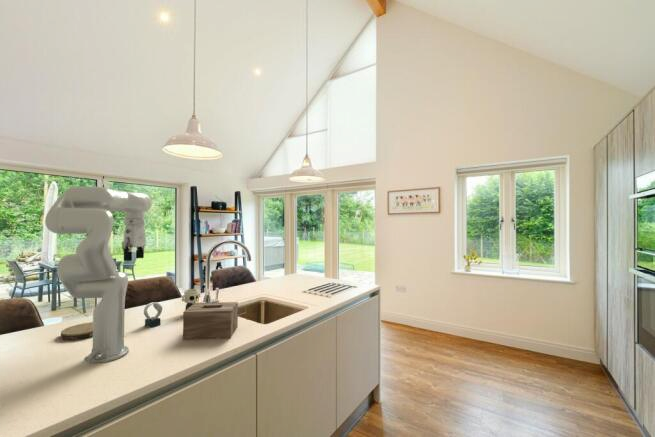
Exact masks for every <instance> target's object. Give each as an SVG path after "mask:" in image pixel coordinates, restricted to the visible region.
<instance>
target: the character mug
mask: <svg viewBox="0 0 655 437" xmlns="http://www.w3.org/2000/svg"><path fill="white" fill-rule="evenodd" d="M200 298H201V291H199V289H198V288H190V289H186V290H184V294H183V295H182V296H181V301H182V302H184V303H185V309H184V311H185V310H186V309H188V308H189V307H190V306H192V305H193V304H194V303H198V301H199V299H200Z"/></svg>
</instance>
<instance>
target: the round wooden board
mask: <svg viewBox="0 0 655 437" xmlns="http://www.w3.org/2000/svg"><path fill="white" fill-rule="evenodd" d="M91 338H92V339H93V321H91V322H83V323H80V324H75V325H72V326H68V327H66V328H63V329H62V330H61V331H60V339H61V341H64V342H65V341H67V342H74V341H82V340H87V339H91Z"/></svg>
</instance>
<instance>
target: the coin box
mask: <svg viewBox="0 0 655 437" xmlns="http://www.w3.org/2000/svg"><path fill="white" fill-rule="evenodd" d="M238 306H239V302H238V301H226V302H225V301H224V302H221V301H220V302H216V301H215V302H196V303H194V304H193V305H192V306H190V307H189V308H188V309H186V310H185V309H184V311H183V314H182V319H183V320H182V333H183V334H182V340H185V341H187V340H189V341H190V340H213V339H216V338H221V339H231V338H232V337H233V335H234V334H233V333H235V332H236V330H237V328H238V326H239V325H238V323H239V322H238V321H239V320H238V319H239V318H238V317H239V314H238V312H239V307H238Z"/></svg>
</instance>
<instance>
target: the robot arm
mask: <svg viewBox="0 0 655 437" xmlns="http://www.w3.org/2000/svg"><path fill="white" fill-rule="evenodd" d="M151 207H152V200H151V197H150V196H149V195H148V194H145V193H141V192H132V191H128V190H127V191H125V190H119V189H114V188H109V187H104V186H86V185H85V186H84V185H82V186H81V185H80V186H79V185H74V186H70V187H69V188H67V189H66V190H64V191H63V192H62V193H61V194H60V196H59V197H58V198H57V199H56V201H55V202H54V203H53V205H52V206H51V207H50V208H49V210H48V212H47V213H46V215H45V218H44V219H45V220H44V221H45V222H44V224H45V227H46V229H48V231H50V232H52V233H53V234H60V235H75V234H77V235H81V234H84V235H87V236H86V237H85V238H84V239H83V240H81V241H80V243H78V245H77V247H76V249H75V253H72V254H66V255H65V256H63V257H61V258H60V260H59V261H58V263H57V266H56V273H57V277H58V279H59V281H60V283H61V284H62V286H63V287H64V288H65V290H66V291H67V292H68V294H69V295H70V296H71V297H72V298H75V299H78V300H79V299H101V300H100V301H99V302H98V303H97V304H96V305H95V307H94V309H93V313H92V322H93V337H92V348H91V351H90V353H89V354H88V355H87V356H85V357H84V358H83V361H84V362H85V363H88V362H89V363H92V364H100V363H108V362H111V361H114V360H117V359H120V358H121V357H124V356H125V355H127V354H128V353H129V349H130V348H129V346H126V345H125V304H126V295H127V294H126V293H127V290H128V284H129V278H128V276H127V274H126V273H124V272H122V271H118V270H117V265H116V262H115V260H114V257H113V255H112V253H111V251H110V249H109V242H110V238H111V236H112V235H111V234H112V232H113V228H114V216H113V214H112V212H118V213H119V212H122V213H123V212H124V233H123V241H122V242H121V246H122V247H121V248H122V252H123V261H124V262H130V261H133V252H132V249H133V247H134V248H136V250H135V251H136V252H135V258H136V259H144V257H145V256H144V255H145V252H144V251H145V247H146V241H147V240H146V228H145V212H147V211H149V210H150V209H151ZM116 270H117V271H116Z"/></svg>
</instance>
